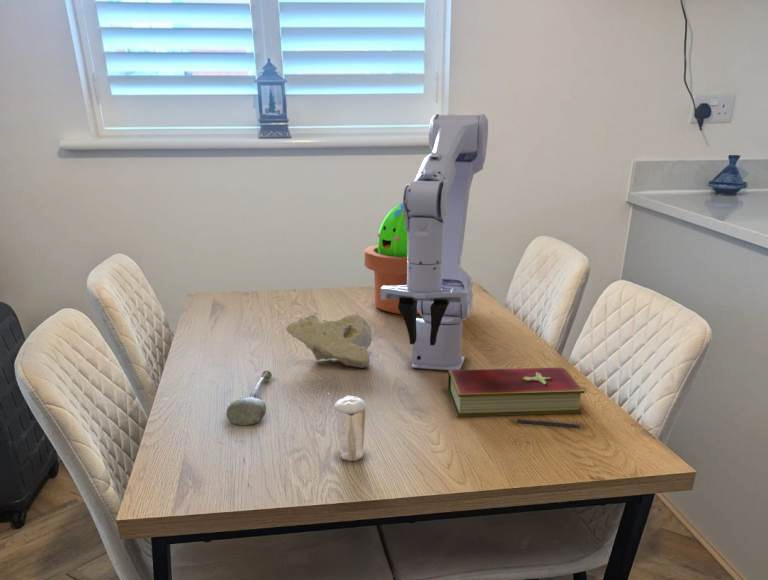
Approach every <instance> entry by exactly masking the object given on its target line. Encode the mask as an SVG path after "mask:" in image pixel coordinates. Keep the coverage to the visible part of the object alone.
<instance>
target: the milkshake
mask: <svg viewBox="0 0 768 580" xmlns="http://www.w3.org/2000/svg"><path fill="white" fill-rule="evenodd" d="M327 396H328V398H329V399H330V401H331V403H332V405H333V406H334V413H335V420H336V427H337V436H338V444H339V452H340V457H341V458H342V459H343V460H344V461H348V462H357V461H359V460H362V458H363V456H364V447H365V427H366V414H367V404H366V402H365V401H364V400H363V399H362V398H359V397H358V396H356V395H355V396H352V395H346V396H345V397H343V398H339V399H338V400H336V402H335V403H334V401H333V399H332V398H331V395H330V393H328V394H327Z"/></svg>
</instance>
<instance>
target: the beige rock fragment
mask: <svg viewBox="0 0 768 580" xmlns="http://www.w3.org/2000/svg"><path fill="white" fill-rule="evenodd" d="M316 315H319V313H318V312H314V313H313V314H311V315H309V316H306V317H300V318H299V319H298V320H297V321H294V322H291V323H289V324H288V325H287V326H286V327H285V330H286V332H287V333H288V334H289V335H291V337H292V338H294V339H296V340H298V341H300V342H301V343H302V344H304V345H305V346H306V348H307V349H309V350H310V351H311V352H312V355H313V357H314V358H315V360H316V361H321V360H325V361H327V360H330V359H335V360H336V361H339V362H340V363H342V364H343V365H345V366H346V367H355V368H360V369H361V368H366V367H368V366H369V364H370V354H369V352H368V349H369V348H370V346H371V343H372V341H373V337H372V335H373V333H372V326H371V325H370V324H369V322H368V321H367V320H366V319H365V318H364V317H362V315H360V314H359V313H352V314H348V315H347V316H346V315H345V316H344V317H343V318H341V319H335V320H328V319H323V320H322V321H321V320H320V318H319V317H318V316H316Z"/></svg>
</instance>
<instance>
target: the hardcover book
mask: <svg viewBox="0 0 768 580" xmlns="http://www.w3.org/2000/svg"><path fill="white" fill-rule="evenodd" d="M447 374H448V375H447V377H448V378H447V392H448V395H449V398H450V400H451V403H452V406H453V410H454V412H455V415H456V417H457V418H465V417H466V418H467V417H496V416H501V417H502V416H527V415H528V416H531V415H563V414H565V415H567V414H582V413H583V410H582V409H581V408H580V403H581V397H582V394H585V389H584V388H583V387H582V386H581V385H580V384H579V382H578V381H577V380H576V379H575V377H574V376H573V375H572V374H571V372H570V371H569V370H568V369H567V367H565V366H562V367H561V366H557V367H524V368H523V367H522V368H521V367H520V368H489V369H488V368H487V369H483V368H482V369H481V368H480V369H460V370H448V373H447Z"/></svg>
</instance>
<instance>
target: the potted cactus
mask: <svg viewBox="0 0 768 580" xmlns="http://www.w3.org/2000/svg"><path fill="white" fill-rule="evenodd" d="M381 221H382V222H381V224H380V226H379V230H378V233H377V235H376V236H377V244H374V245H371V246H368V247H365V249H364V250H363V257H364V262H363V263H364V267H365V268H366V269H368V270H370V271H373V274H374V281H373V283H374V284H373V285H374V305H375V307H376V308H377V309H379V310H381V311H383V312H387V313H392V314H397V315H401V313H400V311H399V309H398V304H399V299H387V300H381V289H380V288H381V287H382V286H383V285H384V286H397V285H407V246H408V232H407V231H405V218H404V212H403V202H400V204H396V205H395V206H394V207H392V209H390V210H389V212H388V213H387V214H386V215H385V216H384V218H383V216H382V217H381ZM416 315H420V314H419V313H418V311H417V312H416Z"/></svg>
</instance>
